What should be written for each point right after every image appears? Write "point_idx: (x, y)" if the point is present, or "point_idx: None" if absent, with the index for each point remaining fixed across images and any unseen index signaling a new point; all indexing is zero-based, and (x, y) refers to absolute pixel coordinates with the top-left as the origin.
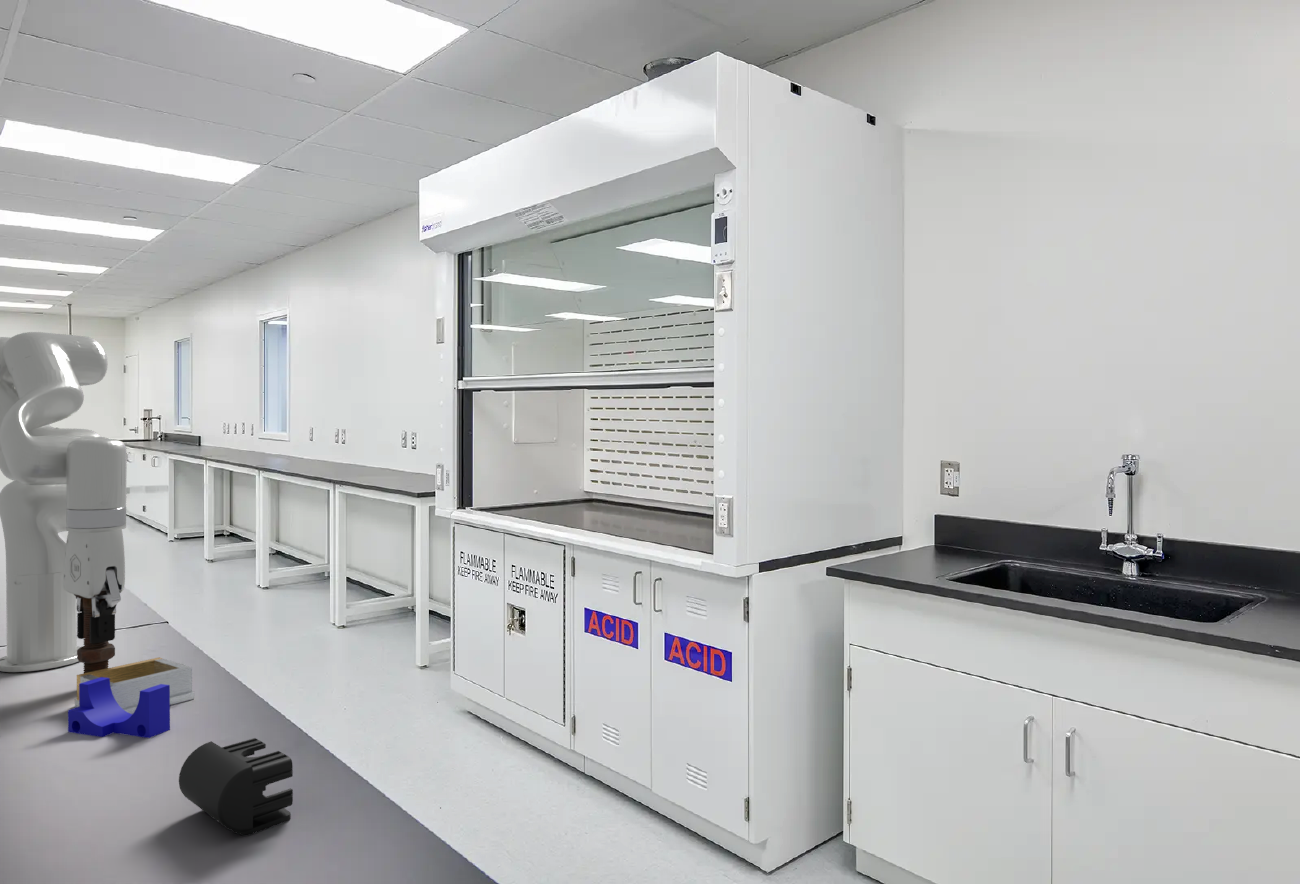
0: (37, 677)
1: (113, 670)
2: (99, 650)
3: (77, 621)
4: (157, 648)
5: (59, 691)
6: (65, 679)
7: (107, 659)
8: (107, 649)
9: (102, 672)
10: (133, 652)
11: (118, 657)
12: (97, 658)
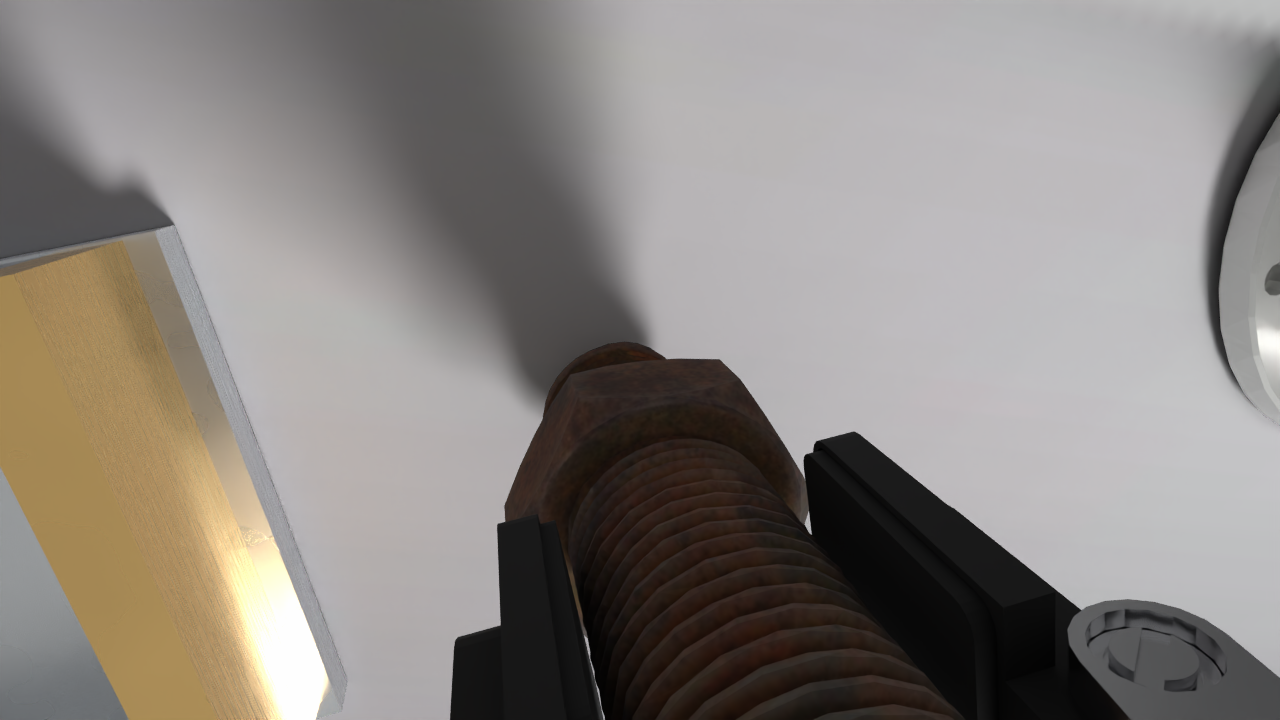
0: (1117, 154)
1: (51, 556)
2: None
3: (959, 520)
4: None
5: (676, 205)
6: (939, 276)
7: None
8: None
9: (15, 475)
10: None
11: (1164, 555)
12: (515, 489)
